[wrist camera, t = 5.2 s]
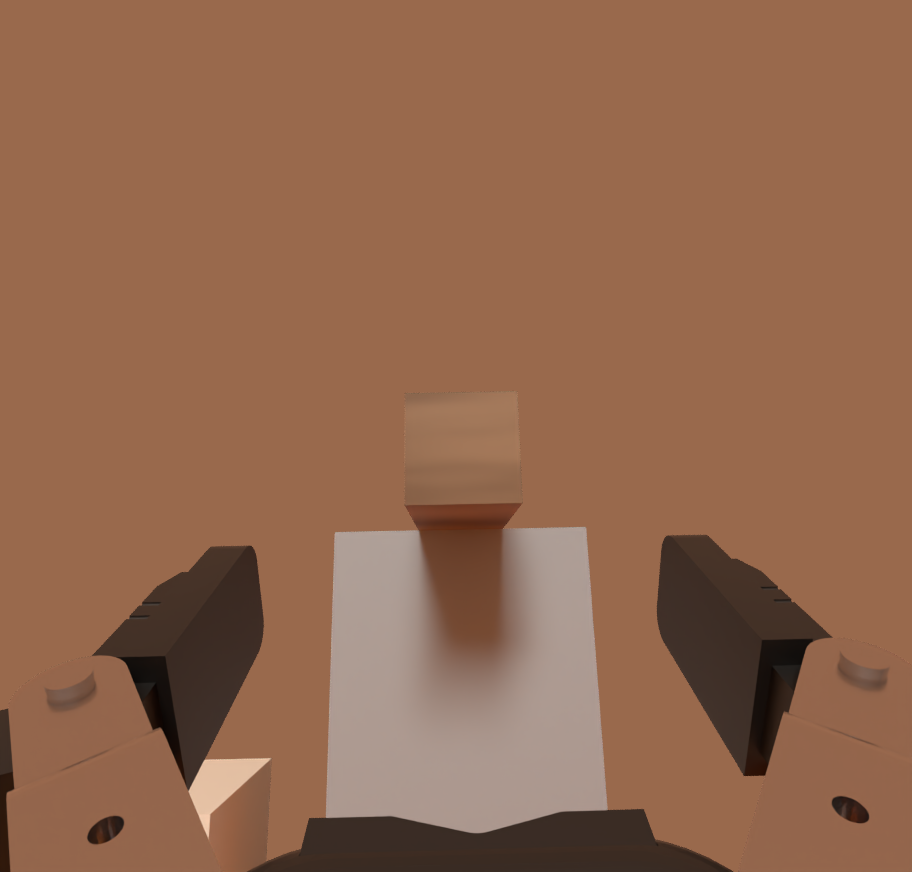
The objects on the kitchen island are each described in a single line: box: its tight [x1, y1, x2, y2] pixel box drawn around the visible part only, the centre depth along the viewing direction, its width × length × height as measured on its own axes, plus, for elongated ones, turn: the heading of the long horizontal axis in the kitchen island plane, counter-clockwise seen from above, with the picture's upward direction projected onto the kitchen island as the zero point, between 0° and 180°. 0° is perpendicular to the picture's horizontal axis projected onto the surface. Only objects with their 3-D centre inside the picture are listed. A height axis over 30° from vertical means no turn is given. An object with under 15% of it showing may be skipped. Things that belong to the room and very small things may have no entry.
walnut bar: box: [405, 391, 523, 531], centre depth 32 cm, size 24×4×4 cm, turn 0°
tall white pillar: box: [326, 527, 607, 833], centre depth 32 cm, size 16×12×32 cm
